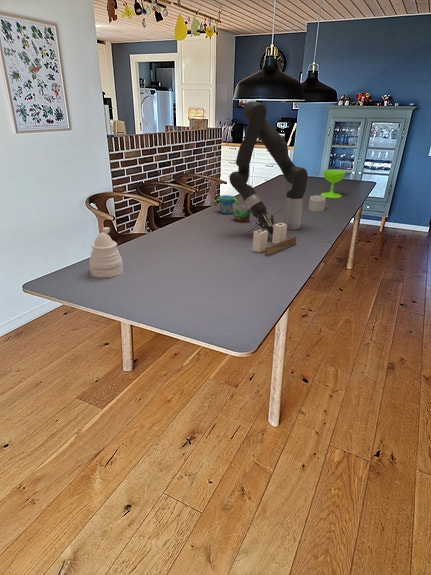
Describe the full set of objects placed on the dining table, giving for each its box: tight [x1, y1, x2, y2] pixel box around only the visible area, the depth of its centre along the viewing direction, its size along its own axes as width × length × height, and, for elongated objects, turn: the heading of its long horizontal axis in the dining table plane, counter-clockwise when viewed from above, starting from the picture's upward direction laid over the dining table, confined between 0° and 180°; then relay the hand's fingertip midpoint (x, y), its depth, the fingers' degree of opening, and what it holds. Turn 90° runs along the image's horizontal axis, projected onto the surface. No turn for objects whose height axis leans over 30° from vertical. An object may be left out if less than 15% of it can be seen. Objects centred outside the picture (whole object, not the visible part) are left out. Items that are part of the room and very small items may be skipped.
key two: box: [252, 228, 269, 253], centre depth 180 cm, size 4×6×9 cm
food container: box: [232, 202, 252, 223], centre depth 229 cm, size 12×6×10 cm, turn 62°
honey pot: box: [88, 226, 124, 277], centre depth 155 cm, size 13×13×18 cm
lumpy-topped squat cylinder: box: [308, 194, 327, 212], centre depth 259 cm, size 10×13×9 cm
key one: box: [271, 222, 288, 244], centre depth 190 cm, size 4×6×9 cm
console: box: [264, 235, 297, 257], centre depth 186 cm, size 15×24×5 cm, turn 138°
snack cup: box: [214, 194, 239, 215], centre depth 246 cm, size 16×10×10 cm
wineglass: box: [320, 169, 346, 199], centre depth 298 cm, size 16×16×18 cm
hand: (273, 233), depth 193 cm, fingers closed
